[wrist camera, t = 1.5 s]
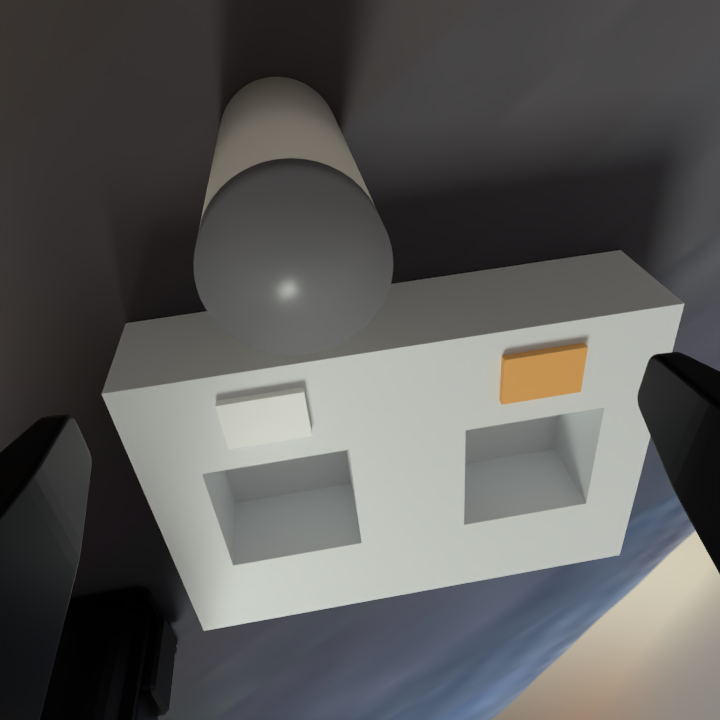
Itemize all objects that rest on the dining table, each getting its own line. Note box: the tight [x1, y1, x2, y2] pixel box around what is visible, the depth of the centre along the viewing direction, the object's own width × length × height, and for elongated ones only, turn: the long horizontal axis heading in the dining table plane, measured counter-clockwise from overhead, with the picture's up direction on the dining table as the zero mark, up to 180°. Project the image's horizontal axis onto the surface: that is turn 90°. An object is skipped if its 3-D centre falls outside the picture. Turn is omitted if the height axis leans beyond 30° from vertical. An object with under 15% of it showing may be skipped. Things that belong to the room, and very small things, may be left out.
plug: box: [193, 76, 393, 355], centre depth 16 cm, size 4×4×10 cm
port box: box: [102, 250, 684, 631], centre depth 26 cm, size 20×14×5 cm
